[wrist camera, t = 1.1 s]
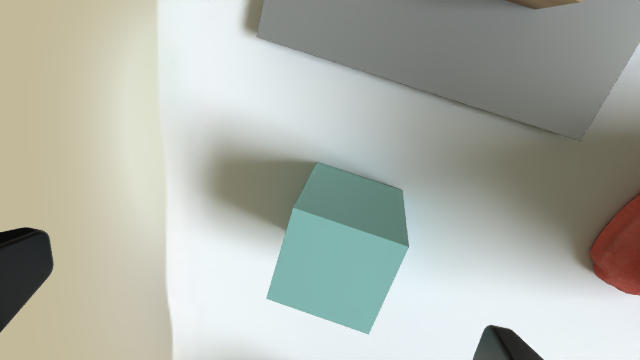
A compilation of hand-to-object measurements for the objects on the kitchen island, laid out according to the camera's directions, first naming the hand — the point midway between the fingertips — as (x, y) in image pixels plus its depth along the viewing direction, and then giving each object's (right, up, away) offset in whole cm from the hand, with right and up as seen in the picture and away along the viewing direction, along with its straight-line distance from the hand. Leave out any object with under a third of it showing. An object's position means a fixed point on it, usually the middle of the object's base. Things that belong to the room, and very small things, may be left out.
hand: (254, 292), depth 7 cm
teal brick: (+3, 0, +14) cm, 15 cm away
